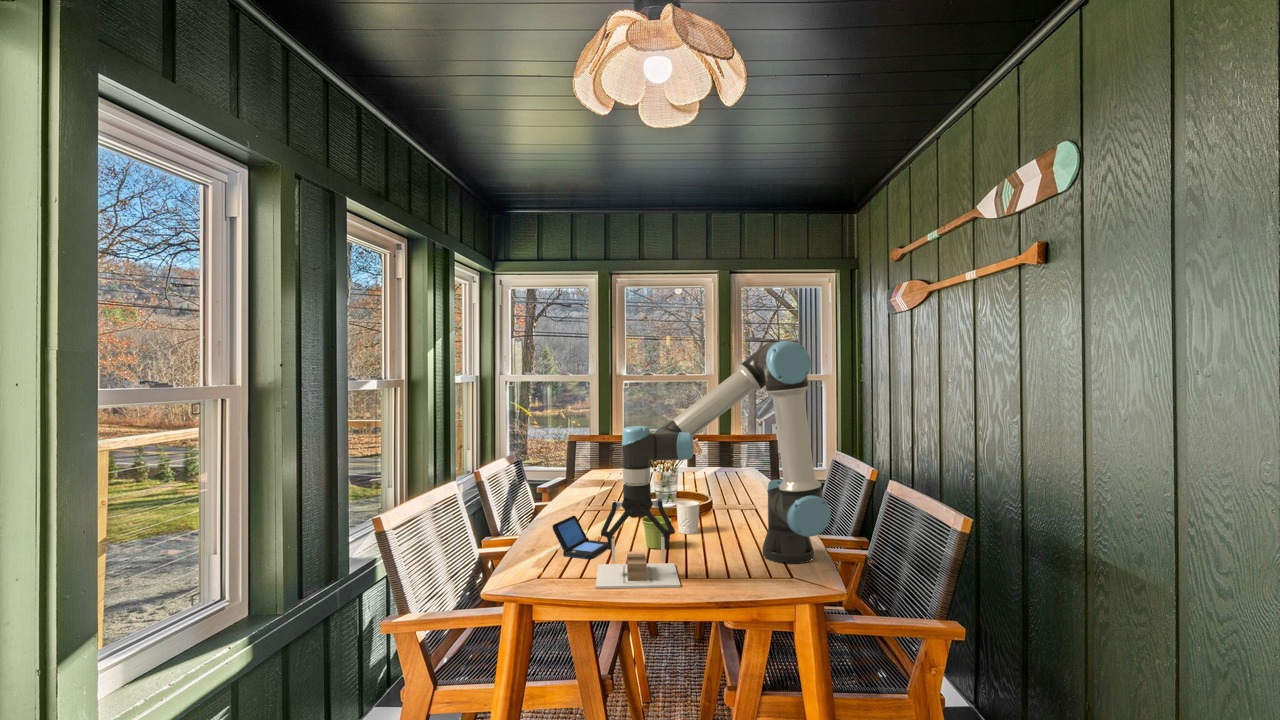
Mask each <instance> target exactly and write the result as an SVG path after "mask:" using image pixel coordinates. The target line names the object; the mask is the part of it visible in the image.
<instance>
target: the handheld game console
mask: <svg viewBox="0 0 1280 720" xmlns="http://www.w3.org/2000/svg"><path fill="white" fill-rule="evenodd" d="M551 528H552V531H553V533H554V535H555V536H556V537H555V538H556V539H557V541H558V543H559V545H560V546H561V548H562V550H563V553H562V555H563V557H570V558H577V557H578V559H579V558H580V559H585V558H586V559H585V560H588V559H589V560H590V559H592V558H594V557H596V556H597V555H598V554H600V553H602V552H604V551H605V550H608V541H601V540H600V541H599V540H593V539H592V540H590V539H589V537H587V535H586V533H585V531H584V530H583V527H582V525H581V524H580V521H579V519H578V518H577V516H576V515H572V516H570V517H568V518H564V519H563V520H560V521H559V522H556V523H553V525H552V527H551Z"/></svg>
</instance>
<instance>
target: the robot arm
mask: <svg viewBox="0 0 1280 720" xmlns="http://www.w3.org/2000/svg"><path fill="white" fill-rule="evenodd" d="M811 367H812V360H811V355H810V354H809V352H808V350H807V349H806V348H805V347H804V346H803V345H801V344H800V343H798V342H795V341H792V340H781V341H772V342H768V343H765V344H764V345H762V346H761V347H760V348H758V349H757V350H755V352H754V353H752V354H751V355H750V356H749V357H748V358H747V359H745V360H744V361H743V362H742V363H740V364H739V365H738V370H737V371H735V372H734V373H732V374H731V375H730V376H729V377H727V378H726V379H724V380H723V381H722V382H720V384H718V385H717V386H715V387H714V388H712V389H711V390H710V391H709V392H708V393H706V394H705V395H703V396H702V397H701V398H699V399H698V400H696V402H694V403H693V404H692V405H690V406H689V407H688V408H687V409H685V410H683V411H682V412H681V413H680V414H678V415H677V416H676V417H674V418H673V419H672V420H670V421H669V422H668V423H666V424H665V425H664V426H661V427H658V428H656V430H655V431H653V433H652V432H650V428H649V427H648V426H646V425H645V426H644V425H634V426H633V425H632V426H631V425H630V426H627V427H624V428H623V430H622V436H621V437H622V438H621V439H622V440H621V447H622V448H621V449H622V451H621V452H622V453H621V455H622V456H621V457H622V482H623V483H624V484H623V485H622V487H623V488H622V489H623V491H622V492H623V494H622V497H623V499H622V501H617V500H616V499H615V500H612V502H611V509H610V511H609V513H608V515H607V517H606V520H605V522H604V524H603V526H602V529H601V530H600V536H601V537H605V538H606V539H607V540H606V541H607V542H608V548H607V550H609V551H611V561H612V564H616V548H615V547H616V543H615V540H616V539H615V534H616V532H618V530H619V529H620V528H621V526H622V525H623V524H624V522H625V521H626V520H628V518H629V517H630V518H631V519H636V518H640V519H642V518H644V517H648V518H649V519H650V520H651V521H652V522H653V523H654V525H655V526H656V527H657V528H658V529H659V530H660V531H661V532H662V534H663V535H661V549H660V550H661V551H660V555H661V556H660V558H661V561H662V562H666V556H665V555H666V554H665V553H666V551H665V550H666V549H668V548H669V545H670V544H669V537H670V535H674V534H675V533H676V531H675V528H674V526H673V524H672V521H671V522H670V520H669V518H670V517H668V514H667V513H666V511H665V509H664V506H663V505H664V504H663V500H662V499H661V498H658V499H657V500H652V497H651V494H652V493H651V491H652V490H651V489H652V488H651V487H652V486H651V484H650V482H651V462H655V461H685V460H691V459H692V458H693V455H694V449H695V448H694V446H695V445H694V436H695V435H697V434H698V433H699V432H701V431H702V430H703V429H705V428H706V427H708V425H710V424H711V423H712V422H714V421H715V420H717V419H718V418H719V417H720V416H722V415H723V414H724V413H725V412H726V411H728V410H729V409H731V408H732V407H734V406H735V405H736V404H737V403H739V402H740V401H741V400H743V399H744V398H746V397H747V396H748V395H750V394H751V393H752V392H754V391H760V390H762V389H763V388H765V390H766V393H767V394H769V396H771V397H772V403H773V409H774V417H775V423H776V432H777V433H776V434H777V440H778V448H779V456H780V463H781V471H782V479H781V478H780V479H772V480H769V481H768V483H767V490H766V491H767V531H766V536H765V538H764V541H763V544H762V551H761V552H762V553H761V555H762V556H763V557H764V558H765V559H768V560H769V559H770V561H772V560H773V561H774V562H776V561H777V563H782V562H785V563H784V564H801V563H800V562H804V563H807V562H806V561H808V562H810V561H809V560H811V559H813V560H814V557H815V551H814V546H813V543H812V541H811V538H810V537H816V536H818V535H820V534H821V533H823V532H824V531H825V530H826V528H827V527H829V523H830V521H831V518H832V517H831V513H832V512H831V508H830V507H829V504H828V503H827V501H826V500H825V499H824V493H823V487H822V483H821V481H819V480H818V479H816V476H815V470H814V462H813V454H812V446H811V437H810V431H809V424H808V415H807V408H806V400H805V399H806V398H805V393H806V391H807V390H808V388H809V379H808V375H809V374H810V372H811V369H812V368H811ZM653 506H654V507H655V508H656V509H658V512H659V513H660V515H661V516H662V517H663V519H664V521H665V523H666V525H667V527H668V530H666V529H665V528H664V526H663V525H662V524H661V523H660V522H659V521H658V520H657V519H656V517H655V516H656V515H654V514H653V513H652V511H651V509H652V507H653ZM620 507H622V509H623V510H624V512H623V513H622V515H620V517H619V518H618V519H617V521H616V522H615V523H614V524H613V526H612V527H611V528H610V529H609V527H610V526H611V523H612V521H613V519H614V517H615V514H616V513H617V510H618V511H619V510H620ZM608 529H609V530H608ZM811 561H812V560H811Z"/></svg>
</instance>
